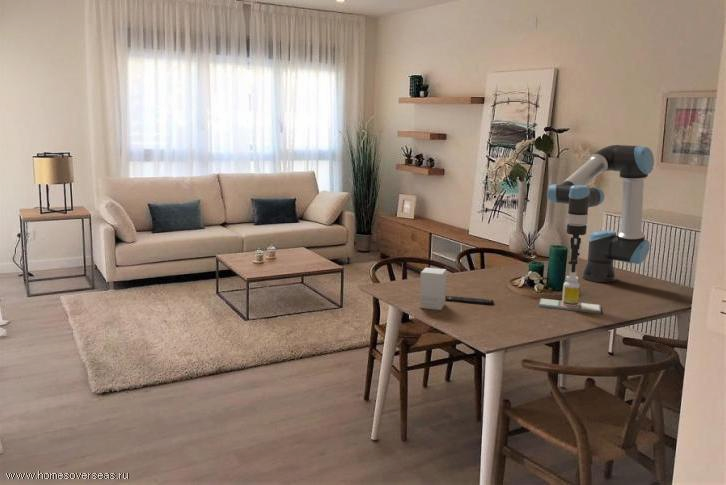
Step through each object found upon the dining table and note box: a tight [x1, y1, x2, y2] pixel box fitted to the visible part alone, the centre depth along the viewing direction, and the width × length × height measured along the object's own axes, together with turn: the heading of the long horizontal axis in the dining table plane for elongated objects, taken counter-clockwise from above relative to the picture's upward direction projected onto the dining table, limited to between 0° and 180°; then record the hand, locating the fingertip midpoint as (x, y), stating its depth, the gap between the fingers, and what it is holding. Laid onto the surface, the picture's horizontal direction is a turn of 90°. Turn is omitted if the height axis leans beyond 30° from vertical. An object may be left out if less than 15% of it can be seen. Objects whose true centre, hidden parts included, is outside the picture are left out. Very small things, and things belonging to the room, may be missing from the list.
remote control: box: [445, 295, 495, 306], centre depth 267 cm, size 5×24×1 cm, turn 75°
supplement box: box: [419, 267, 447, 311], centre depth 258 cm, size 9×9×15 cm
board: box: [538, 297, 602, 315], centre depth 262 cm, size 10×24×1 cm, turn 71°
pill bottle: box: [561, 275, 581, 306], centre depth 261 cm, size 6×6×12 cm
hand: (572, 275), depth 260 cm, fingers open, 13 cm apart
